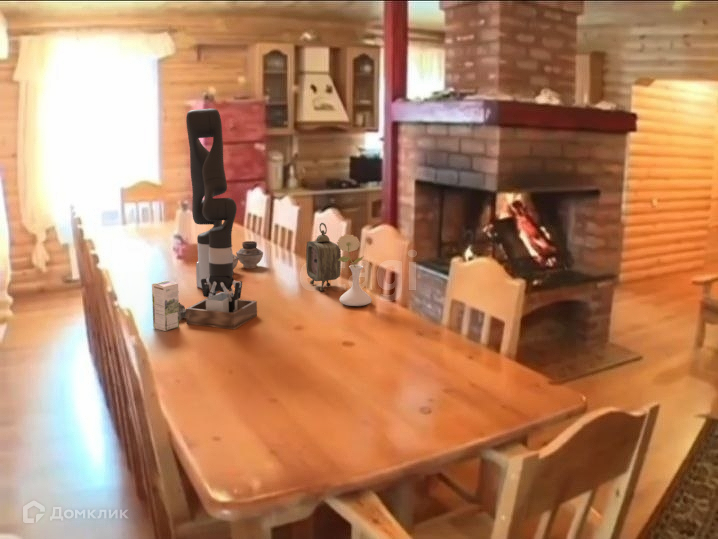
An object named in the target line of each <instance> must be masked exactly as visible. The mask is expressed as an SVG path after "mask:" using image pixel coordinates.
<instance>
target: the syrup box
mask: <svg viewBox="0 0 718 539" xmlns="http://www.w3.org/2000/svg"><path fill="white" fill-rule="evenodd" d="M151 297H152V298H151V300H152V318H153V319H152V326H153V329H156V330H158V331H164V332H167V331H170V330H171V331H172V330H173V329H178V328H180V320H179V303H180V302H179V283H177V282H175V281H171V280H163V281H159V282H155V283H152V284H151Z"/></svg>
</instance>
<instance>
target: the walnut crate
mask: <svg viewBox="0 0 718 539" xmlns="http://www.w3.org/2000/svg"><path fill="white" fill-rule="evenodd" d="M206 299H208V297H205V298H204V299H202V300H200V301H199V302H196V303H194V304H192V305H191V306H188V307H186V308H185V309H186V318H185V320H186V324H188V325H195V326H204V327H209V328H210V327H213V328H219V329H228V330H237V329H238V328H239V327H241V326H243V325H244V324H247V322H249V321H250V320H253V319H255V317H257V315H258V310H257V309H258V304H257V302H258V301H256V300H251V299H249V300H248V299H241V298H239V299H237V307H238V310H237V311H235V312H234V313H229V312H220V311H211V310H206Z"/></svg>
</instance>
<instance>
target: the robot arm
mask: <svg viewBox="0 0 718 539" xmlns="http://www.w3.org/2000/svg"><path fill="white" fill-rule="evenodd" d="M185 120H186V130H187V136H188V137H187V138H188V146H189V157H190V158H189V160H190V161H189V163H190V164H189V166H190V168H189V169H190V179H191V189H192V190H191V191H192V193H191V194H192V203H191V204H192V205H191V208H192V209H191V210H192V219H193V222H194V223H195V224H196V225H202V226H204V225H206V226H207V225H208V226H209V225H213V226H212V228H210V229H209V230H206V231H204V232H202V233H199V234H198V235H197V239H196V240H197V242H196V243H197V261H196V262H195V275H196V287H197V288H199V289H202V296H203V297H204V298H210V297H213V296H214V295H216V294H218V293H219V292H224V293H225V295H226V296H227V297H228V300H229V312H230V313H231V312H233V310H235V300H237V299H241V297H242V288H243V281H242V280H239V281H238V280H235V279H234V277H233V276H234V273H233V271H234V269H233V254H234V253H233V244H232V232H233V227H234V222H235V218H236V214H237V208H238V207H237V203H236V202H235V199H233V198H231V197H218V198H217V196H220V195H223V194H224V193H226V192H227V190H228V184H227V178H226V173H225V164H224V143H223V142H224V141H223V127H222V126H223V124H222V118H221V114H220V111H219V110H218V109H216V108H201V109H192V110H188V111H187V113H186V119H185ZM207 138H212V145H211V148H210V151H209V150H208V149H207V148H206V147H205V146H204V145H203V144H202V142H201V140H200V139H207ZM232 286H233V287H232ZM233 288H234V289H233Z"/></svg>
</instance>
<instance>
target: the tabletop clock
mask: <svg viewBox="0 0 718 539" xmlns="http://www.w3.org/2000/svg"><path fill="white" fill-rule="evenodd" d="M322 226H323V227H324V229H325V230H324V229H323V230H322ZM327 228H328V227H327V225H326V223H324V222H321V223H320V224H319V232H320V235H318V236H317V237H316V240H311V241H310V240H309V241H307V242H306V250H305V251H306V253H305V254H306V255H305V260H306V261H305V262H306V264H305V265H306V274H307V276H308V277H309V278H310V279H311V280H310V281H309V282H310V284H311V285H314V284H315V282H321V286H320V287H319V291H321V292H323V291H324V290H325V288H324V285H326V287H328V288H330V287H331V283H330V282H329V281H335V280H337V279H339V278H340V277H341V269H342V268H341V267H342V266H341V265H342V261H338V259H339V258H341V257H342V254H341V252H342V250H341V249H339V247H338V244H337V243H334V242H333V241H331V240H330V238H329V236H328V235H327V232H328V229H327ZM325 282H326V284H325Z"/></svg>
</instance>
